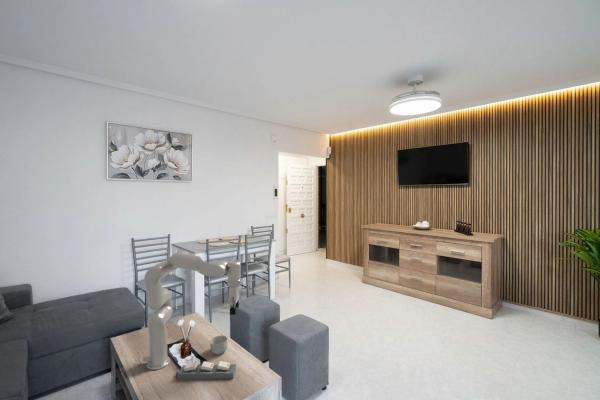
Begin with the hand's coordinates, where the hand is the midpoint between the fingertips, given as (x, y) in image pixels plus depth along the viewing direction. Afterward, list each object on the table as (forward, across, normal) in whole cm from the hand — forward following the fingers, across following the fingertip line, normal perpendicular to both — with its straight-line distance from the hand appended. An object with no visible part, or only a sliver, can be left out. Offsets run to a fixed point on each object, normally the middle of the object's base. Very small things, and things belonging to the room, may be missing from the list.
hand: (234, 310), depth 169 cm
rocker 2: (+27, +11, -13) cm, 32 cm away
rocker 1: (+27, +11, -22) cm, 36 cm away
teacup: (+31, -13, -12) cm, 36 cm away
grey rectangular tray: (+31, +11, -13) cm, 35 cm away
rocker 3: (+27, +11, -4) cm, 29 cm away
